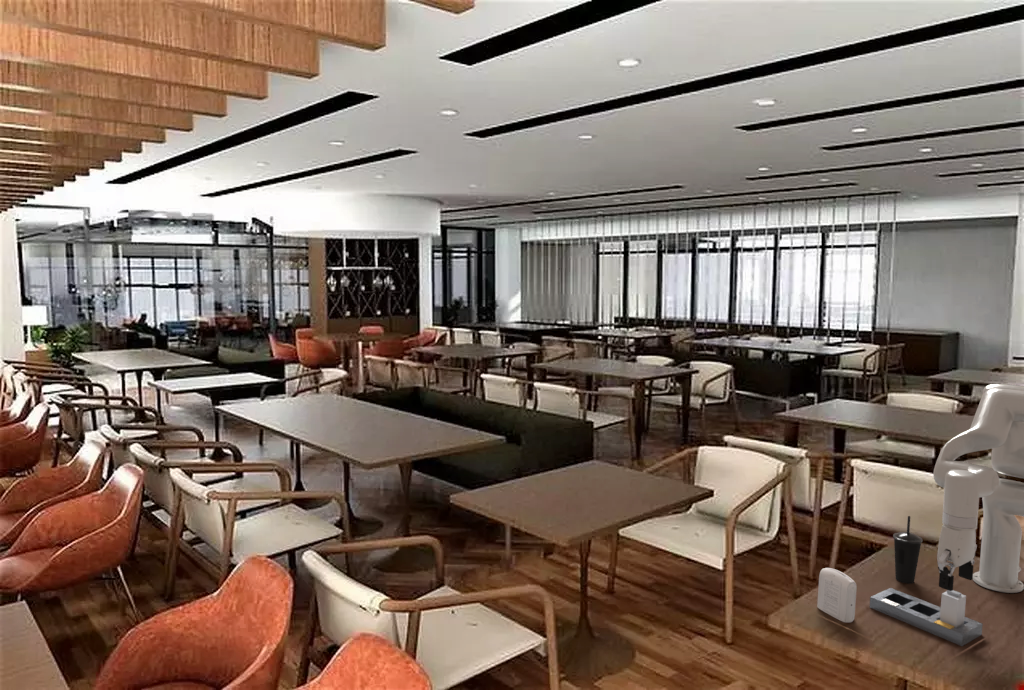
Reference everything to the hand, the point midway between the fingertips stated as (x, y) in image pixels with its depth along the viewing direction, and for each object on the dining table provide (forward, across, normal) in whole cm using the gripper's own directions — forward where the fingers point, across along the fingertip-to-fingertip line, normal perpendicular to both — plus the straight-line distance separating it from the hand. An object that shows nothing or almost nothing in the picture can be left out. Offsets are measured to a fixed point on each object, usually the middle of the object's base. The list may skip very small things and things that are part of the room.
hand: (955, 583), depth 186 cm
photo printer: (+13, +17, -22) cm, 31 cm away
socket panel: (+13, +1, -7) cm, 15 cm away
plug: (+13, +1, 0) cm, 13 cm away
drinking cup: (+14, -19, -23) cm, 33 cm away
